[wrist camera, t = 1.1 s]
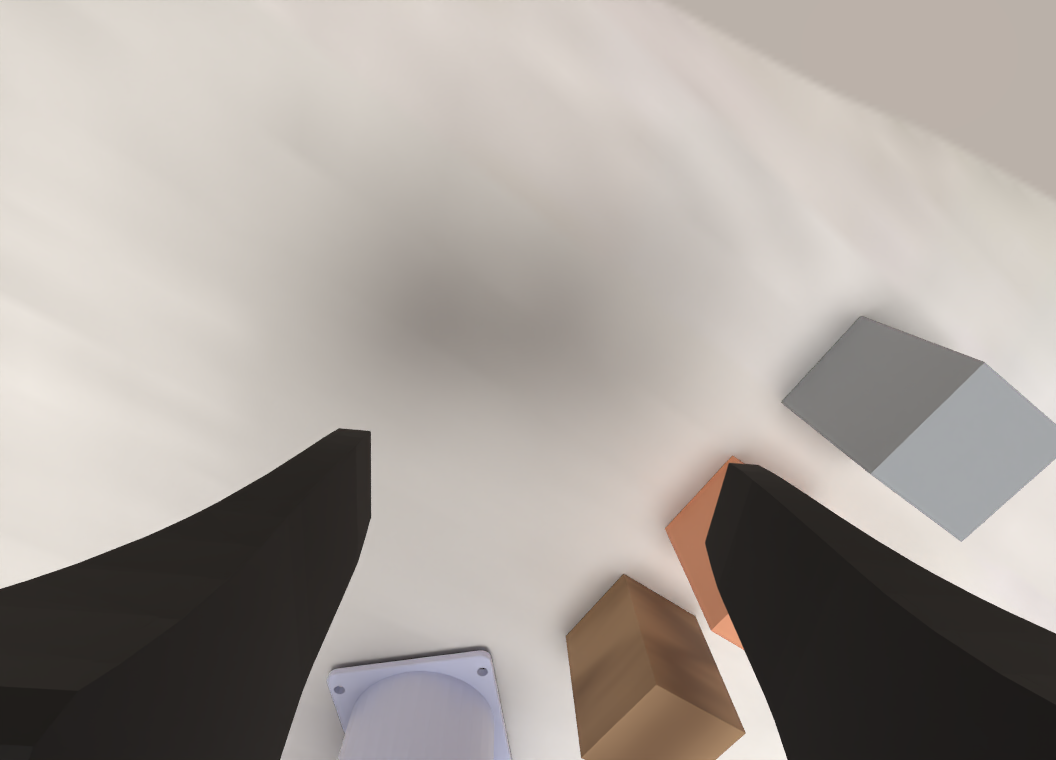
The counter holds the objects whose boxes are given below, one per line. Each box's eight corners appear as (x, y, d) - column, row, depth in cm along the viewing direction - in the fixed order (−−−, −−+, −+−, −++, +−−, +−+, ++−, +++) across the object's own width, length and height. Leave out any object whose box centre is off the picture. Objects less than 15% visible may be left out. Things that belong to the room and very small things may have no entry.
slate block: (933, 376, 23) (1075, 441, 17) (853, 456, 24) (961, 541, 18) (860, 315, 22) (984, 362, 16) (780, 402, 23) (870, 473, 17)
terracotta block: (805, 505, 25) (893, 602, 19) (736, 573, 26) (801, 683, 20) (732, 455, 24) (802, 541, 18) (664, 528, 25) (711, 630, 19)
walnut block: (695, 615, 26) (745, 733, 21) (636, 674, 28) (669, 800, 22) (623, 573, 25) (656, 684, 20) (565, 635, 27) (581, 757, 21)
